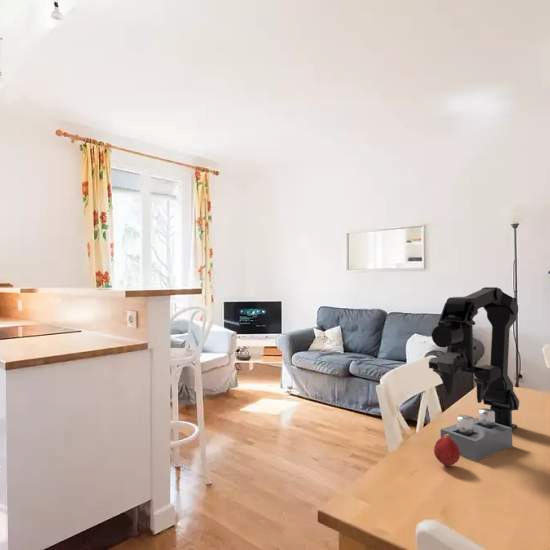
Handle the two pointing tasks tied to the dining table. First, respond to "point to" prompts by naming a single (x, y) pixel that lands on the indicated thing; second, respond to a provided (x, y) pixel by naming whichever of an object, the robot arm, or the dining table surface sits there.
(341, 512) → the dining table surface
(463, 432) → the peg
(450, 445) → the onion
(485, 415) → the peg
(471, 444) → the socket block
